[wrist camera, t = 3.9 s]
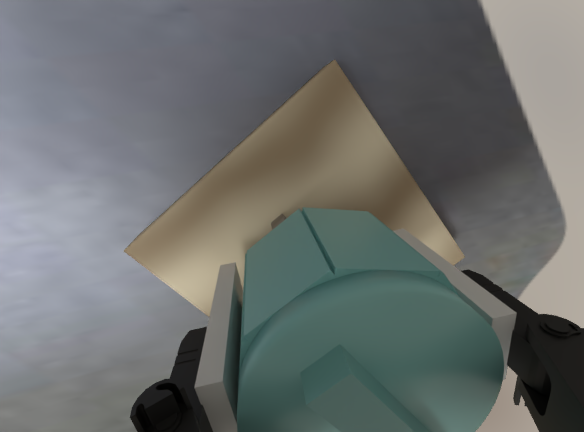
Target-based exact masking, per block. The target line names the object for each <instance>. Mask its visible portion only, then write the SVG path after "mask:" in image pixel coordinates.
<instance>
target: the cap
mask: <svg viewBox="0 0 584 432" xmlns="http://www.w3.org/2000/svg"><path fill="white" fill-rule="evenodd" d="M503 375H504V357H503V351H502V347H501V344H500V341H499V339H498V337H497V335H496V333H495V331H494V330H493V328H492V327H491V326H490V325H489V323H488V322H487V321H486V320H485V319H484V318H483V317H482V316H481V315H479V314H478V313H477V312H476V311H475V310H474V309H473V308H471V307H470V306H469V305H468V304H467V303H466V302H465V301H463V300H462V299H461V297H460V296H459V295H458V293H457V292H456V290H455V289H454V287H453V286H452V284H451V283H450V281H449V280H448V279H447V277H446V276H445V274H444V273H443V272H442V271H441V270H439V269H438V268H437V267H436V266H435V265H433V264H432V263H431V262H430V261H428V260H427V259H426V258H425V257H424V256H422V255H421V254H420V253H419V252H418V251H416V250H415V249H414V248H413V247H411V246H410V245H409V244H408V243H407V242H405V241H404V240H403V239H402V238H400V237H399V236H398V235H397V234H396V233H394V232H393V231H392V230H391V229H390V228H388V227H387V226H386V225H385V224H383V223H382V222H381V221H380V220H379V219H377V218H376V217H375V216H374V215H373V214H371V213H369V212H368V211H355V210H339V209H323V208H306V207H302V211H301V210H300V209H298V210H296V211H295V212H294V213H293V214H291V215H290V216H289V217H288V218H287V219H285V220H284V221H283V222H282V223H280V224H279V225H278V226H277V227H275V228H274V229H273V230H272V231H271V232H269V233H268V234H267V235H266V236H264V237H263V238H262V239H261V240H259V241H258V242H257V243H256V244H254V245H253V246H252V247H251V248H250V249H248V250H247V254H245V268H244V286H243V303H242V322H241V341H240V361H239V380H238V400H237V432H475V431H476V430H477V429H478V428H479V427H480V426H481V424H482V423H483V422H484V420H485V419H486V417H487V416H488V414H489V413H490V411H491V409H492V407H493V406H494V404H495V402H496V399H497V397H498V394H499V392H500V388H501V384H502V381H503Z"/></svg>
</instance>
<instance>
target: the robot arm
mask: <svg viewBox="0 0 584 432" xmlns="http://www.w3.org/2000/svg"><path fill="white" fill-rule="evenodd" d="M393 232H394V233H396V234H397V235H398V236H399V237H400V238H402V239H403V240H404V241H405V242H407V243H408V244H409V245H410V246H411V247H413V248H414V249H415V250H416V251H418V252H419V253H420V254H421V255H422V256H424V257H425V258H426V259H427V260H428V261H430V262H431V263H432V264H433V265H435V266H436V267H437V268H438V269H439V270H441V271H442V272H443V273H444V274H445V276H446V277H447V279H448V280H449V281H450V283H451V284H452V286H453V287H454V289H455V290H456V292H457V293H458V295H459V296H460V297H461V299H462V300H463V301H465V302H466V303H467V304H468V305H469V306H470V307H471V308H473V309H474V310H475V311H476V312H477V313H478V314H479V315H481V316H482V317H483V318H484V319H485V320H486V321H487V322H488V323H489V325H490V326H491V327H492V328H493V330H494V331H495V333H496V335H497V337H498V339H499V341H500V344H501V347H502V351H503V357H504V375H503V380H504V379H506V373H507V367H508V366H509V367H510V368H511V369H512V370H513V371H514V372H515V373H516V374H517V375H518V377H517V381H516V387H515V392H514V398H513V399H514V403H515V405H519V402H520V397H521V395H522V397H523V399H524V401H525V406H527V407H528V410H529V411H530V414H531V416H532V418H533V419H534V422H535V424H536V426H537V428H538V430H539V432H584V328H580V327H579V326H578V325H576V324H574V323H573V322H571V321H569V320H567V319H564V318H561V317H558V316H554V315H547V314H538V313H536V312H534V311H533V310H532V309H530V308H529V307H527V306H526V305H525V304H523V303H522V302H520V301H519V300H517V299H516V298H515V297H513V296H512V295H510V294H509V293H507V292H506V291H503V290H502V288H500V287H499V286H497V285H496V284H493V282H491V281H490V280H489V279H487V278H486V277H484V276H483V275H481V274H478V273H476V272H473V271H471V270H463V271H460V270H458V269H457V268H456V267H454V266H453V265H452V264H450V263H449V262H448V261H446V260H445V259H444V258H442V257H441V256H440V255H438V254H437V253H436V252H434V251H433V250H432V249H430V248H429V247H428V246H426V245H425V244H424V243H422V242H421V241H420V240H418V239H417V238H416V237H414V236H413V235H412V234H410V233H409V232H408V231H406V230H405V229H404V228H403V229H399V230H394V231H393ZM242 303H243V289H242V285H241V281H240V277H239V273H238V270H237V266H236V262H234V263H229V264H224V265H220V269H219V274H218V278H217V283H216V288H215V292H214V297H213V302H212V307H211V311H210V316H209V321H208V326H207V327H204V328H199V329H195V330H190V331H189V332H188V334H187V335H186V336H185V338H184V339H183V340H182V341H181V344H180V347H179V351H178V356H177V357H176V360H175V366H174V367H173V370H172V373H171V376H170V379H164V380H162V381H159V382H157V383H155V384H153V385H152V386H150V387H149V388H147V389H146V390H145V391H144V392H143V393H142V394H141V395H140V396H139V397H138V398H137V400H136V402H135V403H134V405H133V407H132V410H131V415H130V418H131V420H132V422H133V424H134V426H135V428H136V430H137V431H138V432H237V400H238V380H239V361H240V341H241V322H242Z"/></svg>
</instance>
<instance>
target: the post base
mask: <svg viewBox="0 0 584 432" xmlns="http://www.w3.org/2000/svg"><path fill="white" fill-rule="evenodd" d="M302 207H306V208H323V209H339V210H355V211H368V212H369V213H371V214H373V215H374V216H375V217H376V218H377V219H379V220H380V221H381V222H382V223H383V224H385V225H386V226H387V227H388V228H390V229H391V230H392V231H394V230H399V229H403V228H404V229H405V230H406V231H408V232H409V233H410V234H412V235H413V236H414V237H416V238H417V239H418V240H420V241H421V242H422V243H424V244H425V245H426V246H428V247H429V248H430V249H432V250H433V251H434V252H436V253H437V254H438V255H440V256H441V257H442V258H444V259H445V260H446V261H448V262H449V263H450V264H452V265H453V266H454V265H455V264H456V263H458V262H459V261H460V260H462V259H463V258H464V257H465V256H464V255H463V253H462V252H461V250H460V249H459V247H458V245H457V244H456V242H455V241H454V239H453V238H452V236H451V235H450V233H449V232H448V230H447V229H446V227H445V226H444V224H443V223H442V221H441V220H440V218H439V217H438V215H437V214H436V212H435V211H434V209H433V208H432V206H431V204H430V203H429V201H428V200H427V198H426V197H425V195H424V194H423V192H422V191H421V189H420V188H419V186H418V185H417V183H416V182H415V180H414V179H413V177H412V176H411V174H410V173H409V171H408V170H407V168H406V167H405V165H404V163H403V162H402V160H401V159H400V157H399V156H398V154H397V153H396V151H395V150H394V148H393V147H392V145H391V144H390V142H389V141H388V139H387V138H386V136H385V135H384V133H383V132H382V130H381V129H380V127H379V125H378V124H377V122H376V121H375V119H374V118H373V116H372V115H371V113H370V112H369V110H368V109H367V107H366V106H365V104H364V103H363V101H362V100H361V98H360V97H359V95H358V94H357V92H356V91H355V89H354V88H353V86H352V84H351V83H350V81H349V80H348V78H347V77H346V75H345V74H344V72H343V71H342V69H341V68H340V66H339V65H338V63H337V62H336V60H333V61H332V62H330V63H329V64H327V65H326V66H324V67H323V68H322V69H321V70H320V71H319V72H318V73H317V74H316V75H314V76H313V77H312V78H311V79H310V80H309V81H308V82H307V83H306V84H305V85H303V86H302V87H301V88H300V89H299V90H298V91H297V92H296V93H295V94H294V95H292V96H291V97H290V98H289V99H288V100H287V101H286V102H285V103H284V104H283V105H281V106H280V107H279V108H278V109H277V110H276V111H275V112H274V113H273V114H271V115H270V116H269V117H268V118H267V119H266V120H265V121H264V122H263V123H262V124H260V125H259V126H258V127H257V128H256V129H255V130H254V131H253V132H252V133H251V134H249V135H248V136H247V137H246V138H245V139H244V140H243V141H242V142H241V143H240V144H238V145H237V146H236V147H235V148H234V149H233V150H232V151H231V152H230V153H229V154H227V155H226V156H225V157H224V158H223V159H222V160H221V161H220V162H219V163H218V164H216V165H215V166H214V167H213V168H212V169H211V170H210V171H209V172H208V173H206V174H205V175H204V176H203V177H202V178H201V179H200V180H199V181H198V182H197V183H195V184H194V185H193V186H192V187H191V188H190V189H189V190H188V191H187V192H186V193H184V194H183V195H182V196H181V197H180V198H179V199H178V200H177V201H176V202H175V203H173V204H172V205H171V206H170V207H169V208H168V209H167V210H166V211H165V212H164V213H162V214H161V215H160V216H159V217H158V218H157V219H156V220H155V221H154V222H153V223H151V224H150V225H149V226H148V227H147V228H146V229H145V230H144V231H143V232H141V233H140V234H139V235H138V236H137V237H136V238H135V239H134V240H133V242H132V243H131V244H130V245H129V246H128V247H127V248H126V249H125V250H124V252H126V253H127V254H128V255H129V256H131V257H132V258H133V259H135V260H136V261H137V262H138V263H140V264H141V265H142V266H144V267H145V268H146V269H148V270H149V271H150V272H151V273H153V274H154V275H155V276H157V277H158V278H159V279H161V280H162V281H163V282H164V283H166V284H167V285H168V286H170V287H171V288H172V289H173V290H175V291H176V292H177V293H179V294H180V295H181V296H183V297H184V298H185V299H186V300H188V301H189V302H190V303H192V304H193V305H194V306H196V307H197V308H198V309H199V310H201V311H202V312H203V313H205V314H206V315H207V316H210V311H211V307H212V302H213V297H214V292H215V288H216V283H217V278H218V274H219V269H220V265H224V264H229V263H234V262H236V266H237V270H238V273H239V277H240V281H241V285H242V289H243V286H244V268H245V254H247V250H248V249H250V248H251V247H252V246H253V245H254V244H256V243H257V242H258V241H259V240H261V239H262V238H263V237H264V236H266V235H267V234H268V233H269V232H271V231H272V230H273V229H274V228H275V227H277V226H278V225H279V224H280V223H282V222H283V221H284V220H285V219H287V218H288V217H289V216H290V215H291V214H293V213H294V212H295V211H296V210H298V209H300V210H301V211H302Z"/></svg>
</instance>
